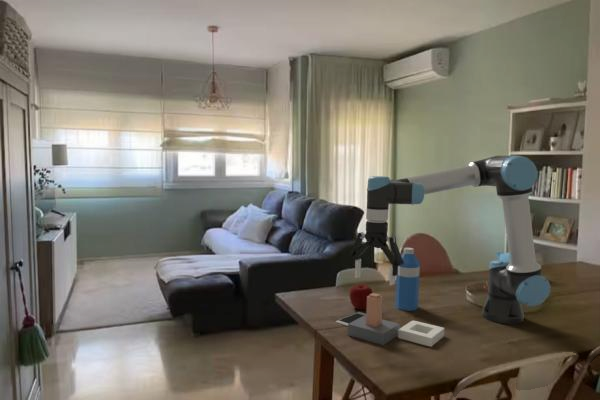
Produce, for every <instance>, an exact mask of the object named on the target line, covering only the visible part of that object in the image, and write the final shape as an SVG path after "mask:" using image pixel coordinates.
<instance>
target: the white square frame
mask: <svg viewBox="0 0 600 400" xmlns="http://www.w3.org/2000/svg"><path fill="white" fill-rule="evenodd" d="M444 337H445V327H442V326H438V325H433V324H430V323H426V322H421V321H417V320H411V321H409V322H408V323H406V324H404V325H403V326H402V327H401V326H400V327H399V329H398V336H397V338H398V339H400V340H405V341H408V342H412V343H416V344H419V345H422V346H427V347H431V348H432V347H433V346H434V345H435V344H436V343H437V342H439V341H441V339H443V338H444Z"/></svg>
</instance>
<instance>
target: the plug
mask: <svg viewBox="0 0 600 400" xmlns="http://www.w3.org/2000/svg"><path fill="white" fill-rule="evenodd" d="M365 311H366V313H365V314H366V325H370V326H374V327H378V326H380V325H381V324H382V319H383V296H382V295H381V294H380V293H375V292H372V294H370V295H369V296H367V309H366V310H365Z"/></svg>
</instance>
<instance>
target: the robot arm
mask: <svg viewBox="0 0 600 400" xmlns="http://www.w3.org/2000/svg"><path fill="white" fill-rule="evenodd" d="M537 179H538V170H537V166H536V165H535V163H534V162H533V161H532V160H531V159H529V158H528V157H525V156H523V155H522V156H521V155H494V156H490V157H487V158H483V159H480V160H476V161H471V162H469V163H468V164H467V165H464V166H458V167H456V168H449V169H445V170H444V169H443V170H440V171H439V170H438V171H435V172H430V173H425V174H420V175H419V174H418V175H414V176H410V177H405V178H399V179H390V177H389V176H383V175H382V176H379V175H375V176H374V175H372V176H369V178H368V180H367V187H366V191H367V192H366V211H365V213H366V214H365V216H366V217H365V219H366V222H365V232H366V233H364V232H363V231H361V232H357V238H356V239H355V242H354V244H353V245H352V248H351V250H350V251H349V253H348V257H350V258H352V259H353V264H352V265H353V269H354V278H355V279H358V278H361V274H362V272H361V271H362V259H361V258H360V257H361V256H362V255H364V254H365V252H366V251H367V250H368V249H369V248H376V249H380V250H381V251H382V252H383V253H384V256H386V258H387V259H388V261H389V262H390V264H391V265H390V266H389V284H388V285H389V286H393V285H396V275H397V274H398V266H400V265H402V264H404V262H403V259H402V257H401V255H402V254H401V253H400V252H401V251H400V249H399V247H398V244H397V237H396V236H388V232H389V229H388V228H389V223H388V221H389V207H390V206H389V205H411V206H414V205H421V204H422V203H423V201H424V198H425V195H429V194H434V193H440V192H443V191H444V192H445V191H451V190H453V189H459V188H465V187H469V186H472V187H474V188H477V187H482V186H483V187H487V186H489V187H495V189H496V196H497V197H498V198H500V199H501V201H502V208H503V215H504V217H503V218H504V225H505V231H506V232H505V233H506V240H507V250H508V252H509V259H510V260H498V259H494V260H491V261H490V263H489V267H488V285H487V286H488V289H487V298H486V299H485V302H484V305H483V307H482V311H481V313H482V314H481V315H482V317H483V318H485V319H487V320H489V321H492V322H495V323H499V324H506V325H507V324H508V325H509V324H510V325H511V324H512V325H513V324H515V325H516V324H521V323H522V322H524V316H525V314H524V311H523V310H524V309H523V307H522V304H523V305H526V306H528V307H534V306H538V305H541V304H542V303H544V302H545V300H546V299H547V298H548V297H549V295H550V292H551V284H550V282H549V280H548V279H547V278H546V277H545V276H543V270H542V269H543V268H542V265H541V264H540V263H538V262H537V258H536V251H535V243H534V234H533V225H532V217H531V207H530V199H529V198H530V195H531V194H532V193H533V191H534V190H533V186H534V185H535V183H536V182H537ZM364 239H365V240H366V241H365V242H364V244H363V245H362V242H363V240H364ZM387 242H388V243H389V244H388V243H387ZM361 245H362V246H361ZM360 246H361V248H360ZM389 246H390V247H389ZM359 248H360V249H359Z"/></svg>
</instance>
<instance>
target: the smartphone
mask: <svg viewBox="0 0 600 400" xmlns="http://www.w3.org/2000/svg"><path fill="white" fill-rule="evenodd" d="M364 315H366V313H365V312H361V311H358V312H355V313H353V314H351V315H347V316H345V317H342V318H340V319H338V320H336V321H335V323H336V324H339V325H343V326H346V327H348V324H349V323H351V322H353V321H355V320H357V319H358V318H360V317H362V316H364Z"/></svg>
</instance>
